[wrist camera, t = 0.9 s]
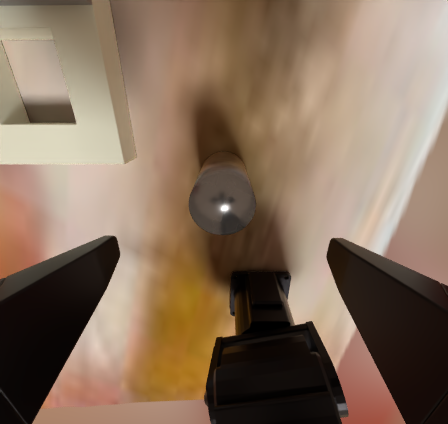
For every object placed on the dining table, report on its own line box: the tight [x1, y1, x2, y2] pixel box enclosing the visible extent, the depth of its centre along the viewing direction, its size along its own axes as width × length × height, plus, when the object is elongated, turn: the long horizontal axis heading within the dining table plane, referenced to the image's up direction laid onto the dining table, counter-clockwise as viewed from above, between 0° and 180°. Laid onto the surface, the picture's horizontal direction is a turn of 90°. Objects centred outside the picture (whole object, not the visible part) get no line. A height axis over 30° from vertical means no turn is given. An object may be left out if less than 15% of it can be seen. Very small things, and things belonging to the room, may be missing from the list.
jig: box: [0, 0, 137, 164], centre depth 15 cm, size 11×11×4 cm
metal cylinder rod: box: [189, 152, 256, 235], centre depth 16 cm, size 4×4×7 cm
